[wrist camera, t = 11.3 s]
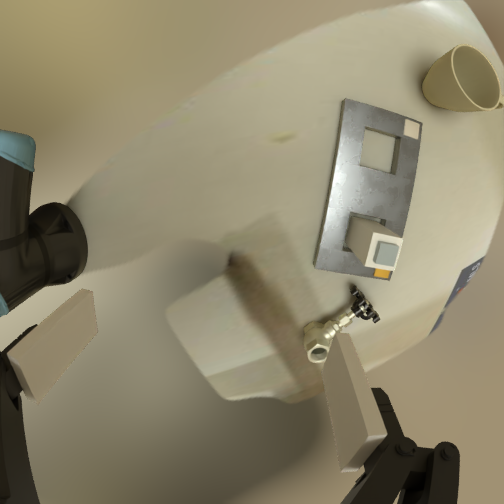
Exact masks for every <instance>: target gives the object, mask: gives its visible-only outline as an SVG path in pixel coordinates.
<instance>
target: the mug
mask: <svg viewBox="0 0 504 504" xmlns="http://www.w3.org/2000/svg"><path fill="white" fill-rule="evenodd" d="M422 91H423V94H424V96H425V98H426V99H427V100H428V101H429V102H430V103H431V104H433V105H435V106H438V107H442V108H445V109H448V110H452V111H457V112H473V111H490V110H493V109H499V108H503V107H504V96H503V95H502V94H501V87H500V82H499V79H498V76H497V73H496V71H495V69H494V67H493V66H492V64H491V63H490V61H489V60H488V59H487V58H486V56H485V55H484V54H483V53H482V52H480V51H479V50H478V49H476V48H475V47H473V46H470V45H467V44H460V45H457V46H456V47H454V48H453V49H452V50H450V51H449V52H447V53H446V54H445V55H443V56H442V57H441V58H439V59H438V60H437V61H436V62H435V63H434V64H433V65H432V67H431V68H430V70H429V72H428V74H427V76H426V77H425V79H424V81H423V84H422Z"/></svg>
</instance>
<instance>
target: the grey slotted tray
mask: <svg viewBox="0 0 504 504" xmlns="http://www.w3.org/2000/svg"><path fill="white" fill-rule="evenodd" d="M365 129H367V130H371V131H375V132H378V133H381V134H385V135H388V136H391V137H394V138H396V141H395V148H394V155H393V161H392V167H391V173H390V174H389V173H386V172H382V171H378V170H375V169H371V168H367V167H363V166H359V164H360V158H361V151H362V145H363V138H364V131H365ZM421 132H422V123H421V122H419V121H416V120H413V119H411V118H408V117H405V116H402V115H399V114H396V113H394V112H391V111H387V110H384V109H381V108H378V107H375V106H371V105H368V104H364V103H361V102H357V101H354V100H350V99H346V98H345V99H344V100H343V101H342V106H341V114H340V121H339V128H338V135H337V142H336V148H335V155H334V161H333V167H332V173H331V178H330V184H329V190H328V195H327V200H326V206H325V211H324V216H323V221H322V226H321V230H320V235H319V240H318V245H317V249H316V254H315V258H314V263H313V265H314V267H315V269H320V270H326V271H332V272H338V273H345V274H351V275H357V276H363V277H370V278H376V279H382V280H389V281H390V278H391V275H392V272H393V271H390V270H384V269H378V268H372V267H366V266H364V265H363V264H362V262H361V261H360V260H359V259H358V258H357V256H356V255H355V254H354V253H353V252H352V250H351V249H348V248H343V243H344V239H345V235H346V230H347V226H348V221H349V217H350V212H354V213H359V214H364V215H368V216H373V217H377V218H381V223H380V224H381V225H383V226H384V227H386V228H388V229H389V230H391V231H392V232H394V233H395V234H397V235H399V236H400V237H402V236H403V232H404V228H405V224H406V220H407V215H408V211H409V206H410V202H411V197H412V192H413V186H414V181H415V175H416V169H417V163H418V156H419V149H420V141H421Z"/></svg>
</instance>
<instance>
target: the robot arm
mask: <svg viewBox="0 0 504 504" xmlns="http://www.w3.org/2000/svg"><path fill="white" fill-rule="evenodd" d="M35 150H36V145H35V141H34V140H33V138H32V137H30V136H29V135H25V134H21V133H16V132H11V131H6V130H0V317H1V316H3V315H7V314H8V313H9V312H10V311H11V310H13V309H14V308H15V307H17V306H18V305H19V304H21V303H22V302H24V301H25V300H26V299H28V298H29V297H31V296H32V295H33V294H35V293H36V292H38V291H39V290H41V289H42V288H43V287H46V286H53V285H61V284H66V283H69V282H71V281H72V280H74V279H75V278H77V277H78V276H79V275H80V274H81V273H82V271H83V269H84V267H85V264H86V260H87V241H86V237H85V233H84V230H83V227H82V225H81V223H80V221H79V219H78V218H77V216H76V215H75V214H74V213H73V211H72V210H71V209H69V208H68V207H67V206H65V205H63V204H61V203H57V202H53V203H49V204H45V205H42V206H40V207H38V208H37V209H36V210H35V211H33V212H32V213H31V214H30V215H29V207H30V195H31V185H32V178H33V172H34V158H35ZM97 333H98V328H97V322H96V315H95V308H94V300H93V292H92V291H89V290H85V289H81V290H80V291H79V292H77V293H76V294H75V295H74V296H72V297H71V298H70V299H68V300H67V301H66V302H65V303H64V304H62V305H61V306H60V307H59V308H58V309H56V310H55V311H54V312H53V313H52V314H50V315H49V316H48V317H47V318H46V319H44V320H43V322H41V323H40V324H39V325H37V324H36V325H34V326H31V327H29V328H28V329H27V330H25V331H24V332H23V333H22V335H20V336H19V337H18V338H17V339H15V340H14V341H13V342H12V343H11V344H10V345H8V346H7V347H6V348H5V349H4V350H3V351H2V352H0V504H40V502H39V499H38V496H37V492H36V488H35V484H34V480H33V476H32V472H31V467H30V462H29V457H28V452H27V445H26V439H25V432H24V424H23V414H22V400H21V396H20V392H21V391H22V390H23V391H24V394H25V396H26V397H27V399H29V400H30V401H32V402H34V403H36V404H37V405H38V404H39V403H40V402H41V400H42V399H43V398H44V397H45V395H46V394H47V393H48V392H49V390H50V389H51V388H52V386H53V385H54V384H55V383H56V381H57V380H58V379H59V378H60V377H61V375H62V374H63V373H64V372H65V370H66V369H67V368H68V367H69V366H70V364H71V363H72V362H73V361H74V360H75V358H76V357H77V356H78V355H79V354H80V352H81V351H82V350H83V349H84V348H85V347H86V345H87V344H88V343H89V342H90V341H91V340H92V339H93V337H94V336H95V335H96V334H97ZM321 373H322V378H323V383H324V388H325V392H326V397H327V402H328V407H329V412H330V417H331V422H332V427H333V433H334V438H335V444H336V449H337V455H338V461H339V466H340V472H348V471H349V472H350V471H358V470H359V469H360V467H361V466H362V465H363V464H364V468H365V472H364V473H363V474H362V475H361V477H359V478H358V479H357V481H356V484H355V485H354V487H353V488H352V489H351V491H350V492H349V493H348V495H347V496H346V497H345V498H344V500H343V501H342V502H341V504H393V502H394V500H395V499H396V497H397V495H398V494H399V492H400V490H401V492H400V495H399V499H398V503H397V504H457V498H458V486H459V466H460V454H459V450H458V449H457V447H456V446H455V445H454V444H453V443H450V442H441V443H439V444H438V445H437V446H436V447H435V448H434V449H432V448H423V447H417V445H416V443H415V442H414V441H413V440H411V439H410V438H407V437H405V436H404V435H403V432H402V429H401V427H400V424H399V422H398V419H397V417H396V414H395V412H394V409H393V407H392V405H391V403H390V400H389V397H388V395H387V394H386V393H385V392H384V391H383V390H382V389H381V388H371V387H370V385H369V382H368V380H367V377H366V375H365V372H364V369H363V367H362V364H361V362H360V359H359V357H358V354H357V352H356V349H355V347H354V345H353V342H352V340H351V337H350V335H349V334H347V333H336V332H335V335H334V338H333V341H332V344H331V346H330V349H329V352H328V355H327V358H326V361H325V363H324V366H323V369H322V371H321Z"/></svg>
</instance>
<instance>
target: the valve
mask: <svg viewBox="0 0 504 504" xmlns="http://www.w3.org/2000/svg"><path fill="white" fill-rule="evenodd" d="M350 290H351V291H350V292H351V294H352V295H353V296H354V295H356V297H357V298H358V299H357V300H356V301H355V302H354V303H353V306H352V307H351V310H352V311H351V312H350V313H348V314H347V313H344V314H342V315H341V316H340V317H339V321H333V322H332V321H331V320H329V321H328V322H327V323H325V324H323V323H319V322H315V321H312V322H311V323H309V324H308V325H307V326H306V327H304V334H305V336H304V339H303V345H304V348H305V350H306V351H307V354H308V359H309V361H311V362H314V363H322V362H324V361H326V358H327V355H328V352H329V349H330V341H331V340H332V339H333V338H334V335H335V332H336V333H340V331H342V327H343V326H344V327H347V326H348V325H350V324H351V323H352V318H354V317H355V316H356V317H358V318H359V317H361V318H362V319H364V320H368V319H370V318H373V322H374V323H376V322H378V321H379V320H380V318H379V315H378V313H377V312H376V311H374V309H373V308H372V307H373V306H372V305H371V303H370V302H368V301H367V300H366V299H365V296H364V295H363V293H362V292H361V291H360V292H359V289H358V288H357V287H356V286H353V287H352V288H351V289H350ZM366 311H367V312H366ZM365 312H366V314H367V316H364V313H365ZM324 326H325V327H324Z"/></svg>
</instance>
